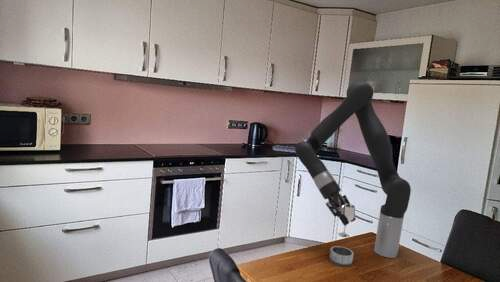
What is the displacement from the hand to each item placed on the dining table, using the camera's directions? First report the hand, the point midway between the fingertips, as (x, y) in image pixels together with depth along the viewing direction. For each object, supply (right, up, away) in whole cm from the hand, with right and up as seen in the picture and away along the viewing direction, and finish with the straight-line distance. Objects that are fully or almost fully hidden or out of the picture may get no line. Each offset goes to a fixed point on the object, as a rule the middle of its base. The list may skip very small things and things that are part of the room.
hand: (350, 222), depth 129 cm
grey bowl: (-3, -16, +3) cm, 16 cm away
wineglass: (-2, -6, +2) cm, 6 cm away
